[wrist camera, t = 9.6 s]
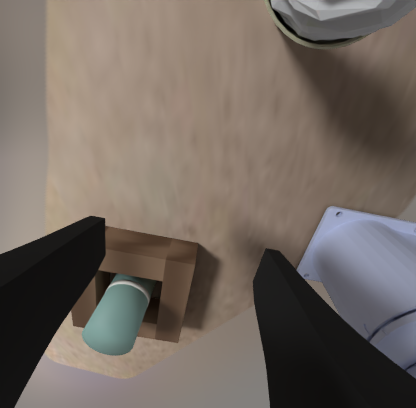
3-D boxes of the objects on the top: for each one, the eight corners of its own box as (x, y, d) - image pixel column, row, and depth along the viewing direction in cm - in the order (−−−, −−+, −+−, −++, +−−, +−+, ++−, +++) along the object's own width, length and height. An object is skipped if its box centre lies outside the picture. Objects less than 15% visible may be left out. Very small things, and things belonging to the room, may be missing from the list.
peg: (159, 263, 23) (134, 327, 16) (156, 291, 25) (133, 359, 18) (119, 256, 23) (79, 318, 16) (119, 284, 24) (83, 351, 18)
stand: (198, 243, 21) (195, 265, 19) (182, 317, 26) (178, 342, 24) (82, 221, 21) (62, 241, 18) (88, 301, 26) (73, 325, 23)
